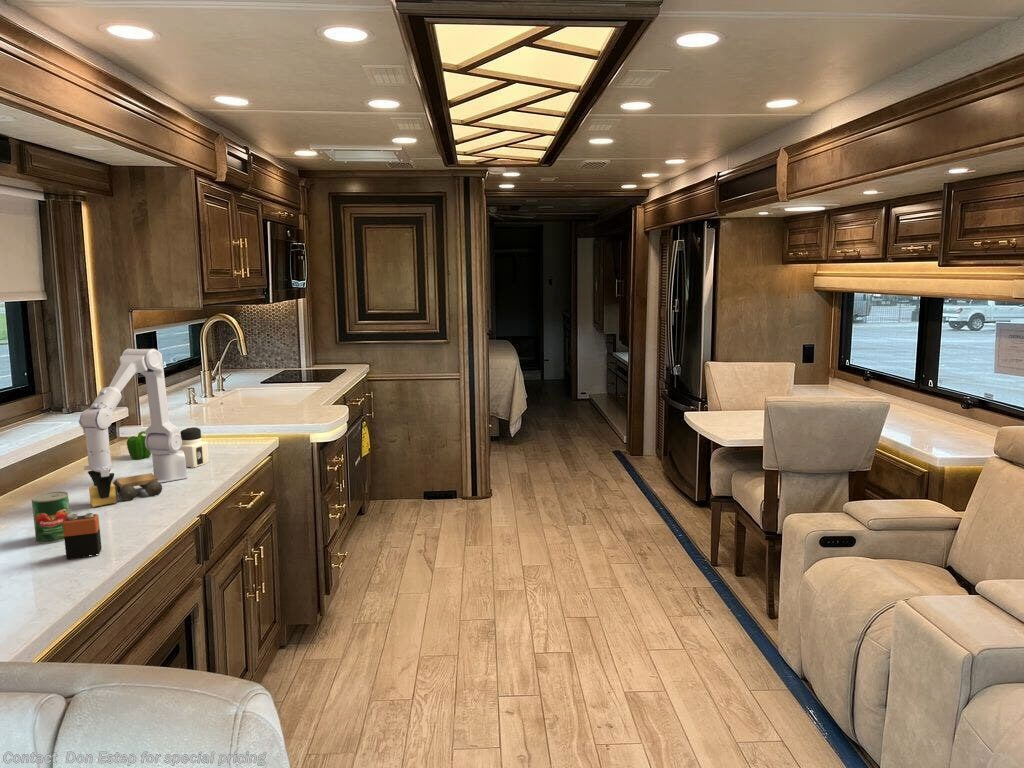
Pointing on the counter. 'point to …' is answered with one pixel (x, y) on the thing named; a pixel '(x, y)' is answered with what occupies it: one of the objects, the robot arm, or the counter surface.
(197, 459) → the container
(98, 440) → the robot arm
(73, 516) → the battery
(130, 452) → the bell pepper
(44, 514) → the canned tomato
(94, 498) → the block
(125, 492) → the trolley
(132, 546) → the counter surface
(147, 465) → the counter surface
